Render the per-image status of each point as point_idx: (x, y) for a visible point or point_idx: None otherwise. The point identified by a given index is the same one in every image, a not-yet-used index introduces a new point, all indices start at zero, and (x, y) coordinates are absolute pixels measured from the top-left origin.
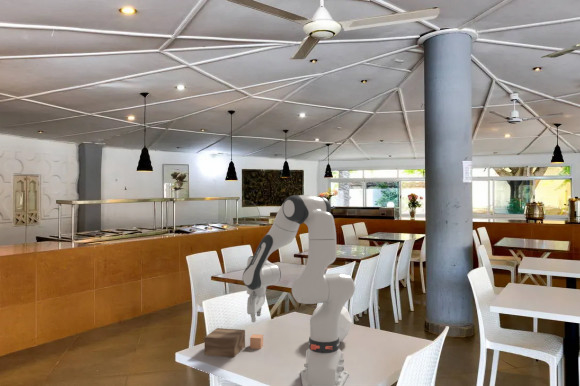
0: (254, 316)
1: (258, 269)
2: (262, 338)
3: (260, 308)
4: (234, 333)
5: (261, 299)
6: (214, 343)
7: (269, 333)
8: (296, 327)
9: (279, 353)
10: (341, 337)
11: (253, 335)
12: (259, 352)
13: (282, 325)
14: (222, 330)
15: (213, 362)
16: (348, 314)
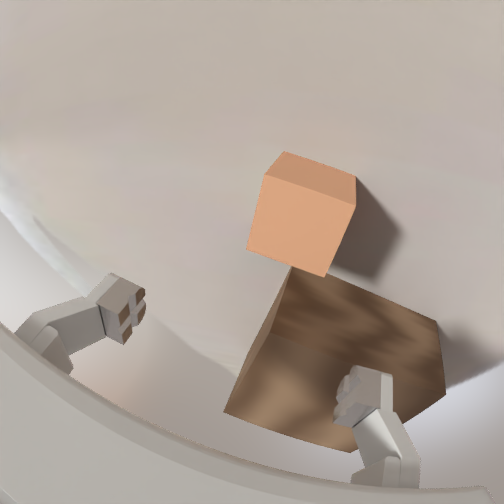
0: (408, 445)
1: None
2: (293, 174)
3: (55, 329)
4: (336, 386)
5: (10, 487)
6: None
7: (86, 116)
8: (28, 9)
9: (465, 73)
10: None
11: (274, 248)
12: (420, 194)
13: (11, 76)
14: (265, 409)
15: (446, 378)
16: None
